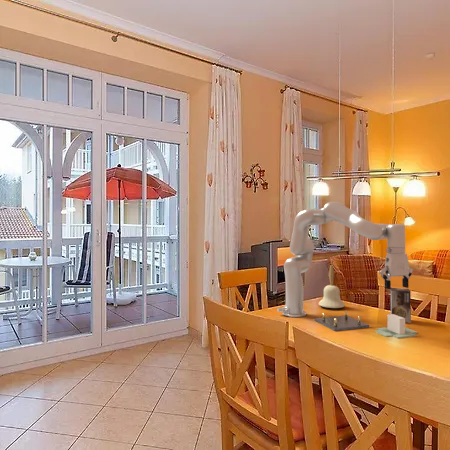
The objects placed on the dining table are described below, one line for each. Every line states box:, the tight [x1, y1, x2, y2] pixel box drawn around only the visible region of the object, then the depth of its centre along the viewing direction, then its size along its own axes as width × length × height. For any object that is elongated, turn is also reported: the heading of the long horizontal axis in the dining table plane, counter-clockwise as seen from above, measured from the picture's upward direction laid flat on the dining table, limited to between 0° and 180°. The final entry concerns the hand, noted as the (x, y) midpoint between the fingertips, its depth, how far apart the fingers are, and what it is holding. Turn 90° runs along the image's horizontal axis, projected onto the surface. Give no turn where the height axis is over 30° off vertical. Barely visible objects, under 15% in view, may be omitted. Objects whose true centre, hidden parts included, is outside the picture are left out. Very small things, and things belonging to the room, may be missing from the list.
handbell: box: [318, 264, 346, 309], centre depth 225 cm, size 15×15×25 cm
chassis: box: [314, 310, 370, 332], centre depth 191 cm, size 19×19×5 cm
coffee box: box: [390, 287, 412, 324], centre depth 196 cm, size 9×6×16 cm
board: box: [374, 313, 419, 339], centre depth 176 cm, size 17×14×8 cm
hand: (396, 288), depth 175 cm, fingers open, 9 cm apart
